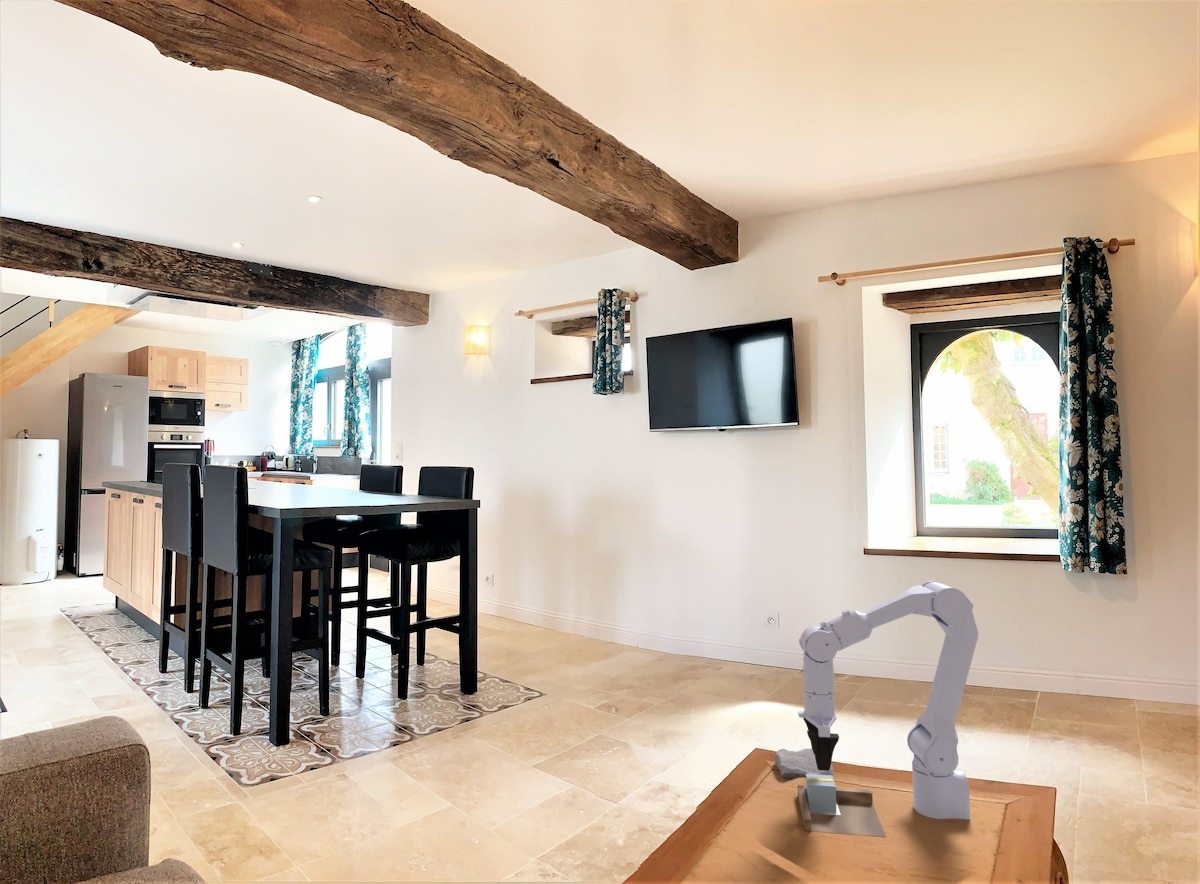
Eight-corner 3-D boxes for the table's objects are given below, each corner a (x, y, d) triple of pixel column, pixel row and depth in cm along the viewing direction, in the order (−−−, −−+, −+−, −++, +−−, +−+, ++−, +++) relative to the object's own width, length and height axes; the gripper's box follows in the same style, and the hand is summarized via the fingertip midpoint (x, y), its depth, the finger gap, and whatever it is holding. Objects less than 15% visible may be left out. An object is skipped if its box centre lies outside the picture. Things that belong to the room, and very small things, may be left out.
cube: (832, 801, 138) (832, 774, 139) (836, 813, 133) (835, 786, 134) (806, 799, 139) (805, 773, 140) (809, 811, 134) (808, 784, 135)
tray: (871, 806, 139) (871, 790, 139) (886, 843, 125) (886, 825, 125) (798, 801, 141) (797, 785, 141) (804, 837, 127) (804, 819, 128)
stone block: (838, 791, 150) (826, 762, 160) (838, 770, 149) (826, 743, 159) (781, 792, 151) (773, 763, 161) (781, 771, 150) (773, 744, 160)
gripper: (794, 678, 145) (796, 745, 145) (801, 701, 131) (803, 776, 130) (830, 680, 144) (832, 747, 143) (840, 703, 130) (843, 778, 129)
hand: (821, 761), depth 137 cm, fingers open, 7 cm apart
